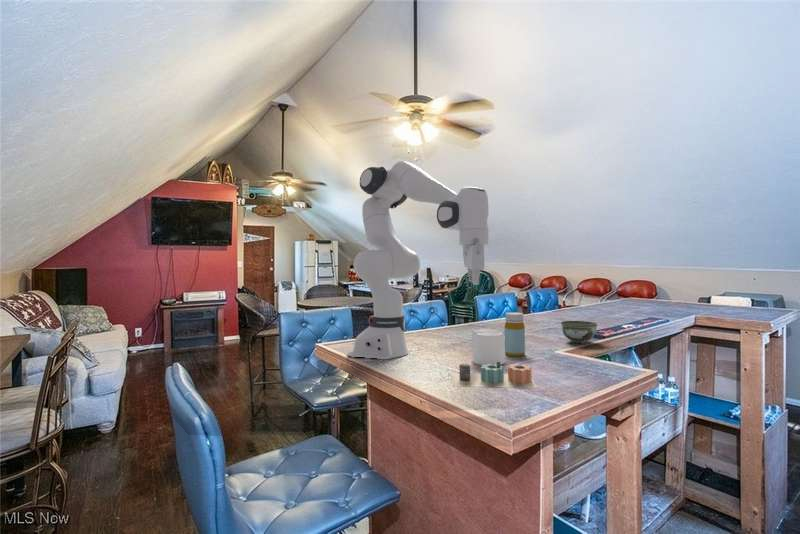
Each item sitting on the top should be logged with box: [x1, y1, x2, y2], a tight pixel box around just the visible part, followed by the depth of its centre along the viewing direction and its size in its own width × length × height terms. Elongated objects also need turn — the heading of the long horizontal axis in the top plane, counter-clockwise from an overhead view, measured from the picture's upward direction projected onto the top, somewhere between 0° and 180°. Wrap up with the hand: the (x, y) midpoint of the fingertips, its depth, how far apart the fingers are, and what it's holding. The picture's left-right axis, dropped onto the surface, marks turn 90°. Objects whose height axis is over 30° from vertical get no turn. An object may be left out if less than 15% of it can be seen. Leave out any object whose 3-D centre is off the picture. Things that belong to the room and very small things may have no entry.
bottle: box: [504, 311, 526, 358], centre depth 140 cm, size 7×7×15 cm
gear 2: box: [507, 363, 533, 384], centre depth 107 cm, size 6×6×4 cm
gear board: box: [451, 363, 539, 389], centre depth 108 cm, size 22×12×5 cm, turn 83°
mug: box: [471, 329, 505, 366], centre depth 129 cm, size 14×10×11 cm
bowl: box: [560, 320, 598, 344], centre depth 158 cm, size 14×13×8 cm
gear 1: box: [480, 361, 505, 383], centre depth 108 cm, size 6×6×5 cm
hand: (473, 283), depth 121 cm, fingers open, 8 cm apart
